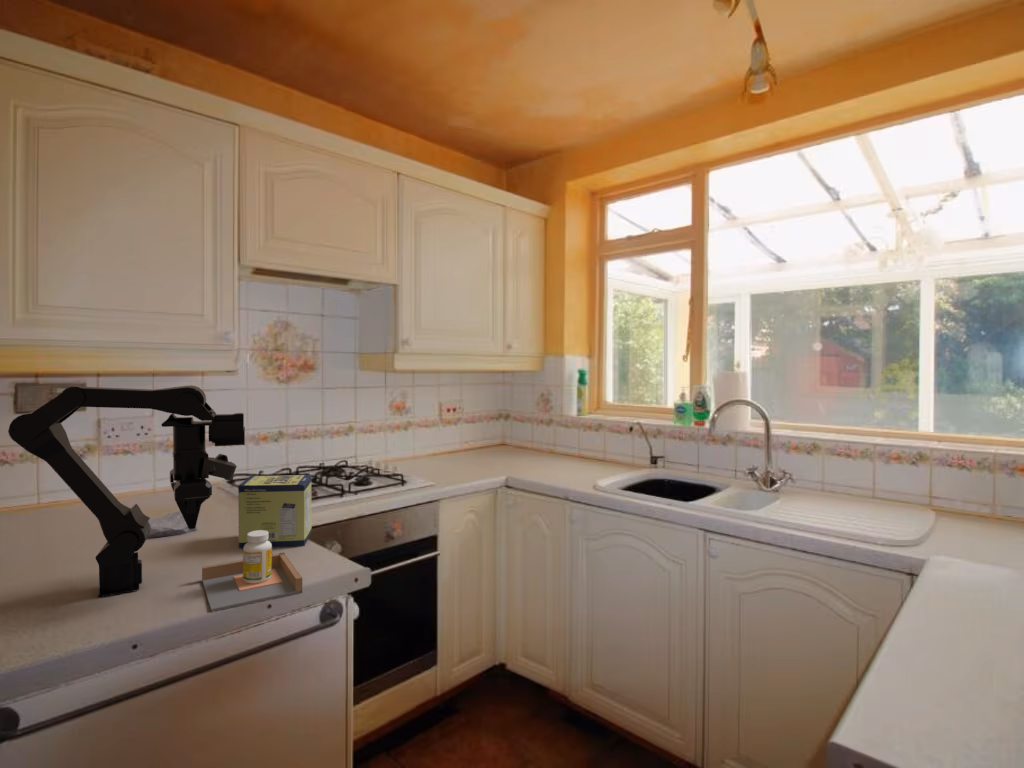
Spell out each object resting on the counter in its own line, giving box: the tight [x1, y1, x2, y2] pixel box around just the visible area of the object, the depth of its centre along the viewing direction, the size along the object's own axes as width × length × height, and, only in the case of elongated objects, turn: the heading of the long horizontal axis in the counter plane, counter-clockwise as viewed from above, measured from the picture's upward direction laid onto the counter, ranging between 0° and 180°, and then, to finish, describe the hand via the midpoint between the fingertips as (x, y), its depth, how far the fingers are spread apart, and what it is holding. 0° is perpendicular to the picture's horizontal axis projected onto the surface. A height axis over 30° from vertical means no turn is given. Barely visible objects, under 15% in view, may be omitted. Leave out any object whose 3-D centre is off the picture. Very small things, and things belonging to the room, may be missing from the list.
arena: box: [201, 552, 303, 613], centre depth 112 cm, size 16×16×3 cm
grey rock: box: [147, 510, 198, 539], centre depth 143 cm, size 12×5×10 cm
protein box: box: [237, 474, 313, 549], centre depth 139 cm, size 10×16×16 cm
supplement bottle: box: [242, 530, 273, 584], centre depth 114 cm, size 5×5×10 cm
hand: (190, 522), depth 114 cm, fingers open, 9 cm apart
